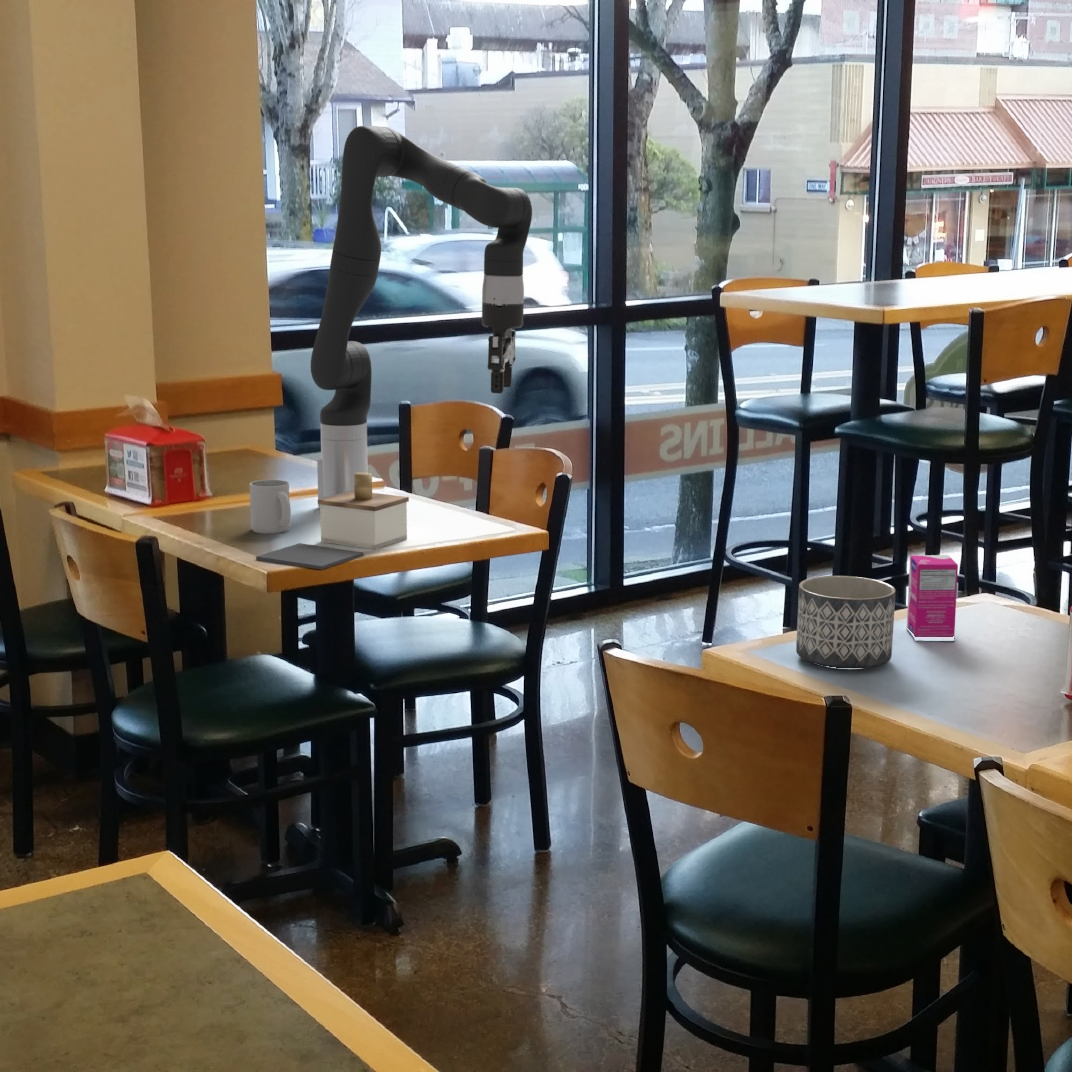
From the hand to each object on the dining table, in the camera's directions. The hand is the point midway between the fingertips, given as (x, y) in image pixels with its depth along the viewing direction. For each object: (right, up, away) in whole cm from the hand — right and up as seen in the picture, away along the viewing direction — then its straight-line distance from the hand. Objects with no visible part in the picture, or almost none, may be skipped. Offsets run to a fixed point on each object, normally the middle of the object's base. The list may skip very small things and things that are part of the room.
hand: (501, 389), depth 276 cm
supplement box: (+63, -41, -60) cm, 96 cm away
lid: (-25, -21, -3) cm, 33 cm away
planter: (+48, -44, -72) cm, 97 cm away
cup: (-43, -26, +6) cm, 50 cm away
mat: (-33, -31, -15) cm, 47 cm away
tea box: (-25, -28, -1) cm, 37 cm away
